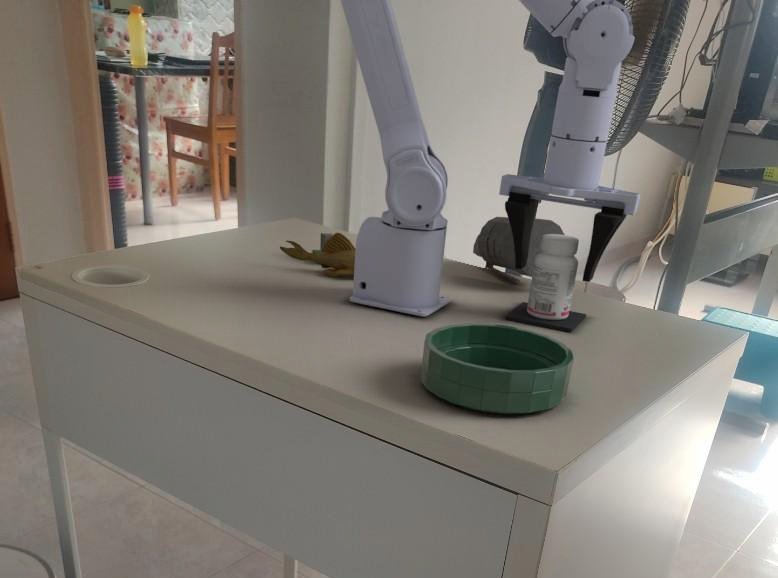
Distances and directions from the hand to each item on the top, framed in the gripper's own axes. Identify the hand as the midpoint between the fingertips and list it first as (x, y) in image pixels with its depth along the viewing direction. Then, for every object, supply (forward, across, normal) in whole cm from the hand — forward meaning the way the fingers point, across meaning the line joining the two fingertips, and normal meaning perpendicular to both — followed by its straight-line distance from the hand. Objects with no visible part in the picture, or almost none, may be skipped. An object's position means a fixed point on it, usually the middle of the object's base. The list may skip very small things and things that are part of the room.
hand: (553, 273), depth 92 cm
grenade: (0, -4, +10) cm, 11 cm away
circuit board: (+4, -30, +11) cm, 32 cm away
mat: (+5, 0, 0) cm, 5 cm away
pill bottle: (+5, 0, 0) cm, 5 cm away
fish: (+5, -28, +1) cm, 29 cm away
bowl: (+5, +2, -26) cm, 26 cm away
